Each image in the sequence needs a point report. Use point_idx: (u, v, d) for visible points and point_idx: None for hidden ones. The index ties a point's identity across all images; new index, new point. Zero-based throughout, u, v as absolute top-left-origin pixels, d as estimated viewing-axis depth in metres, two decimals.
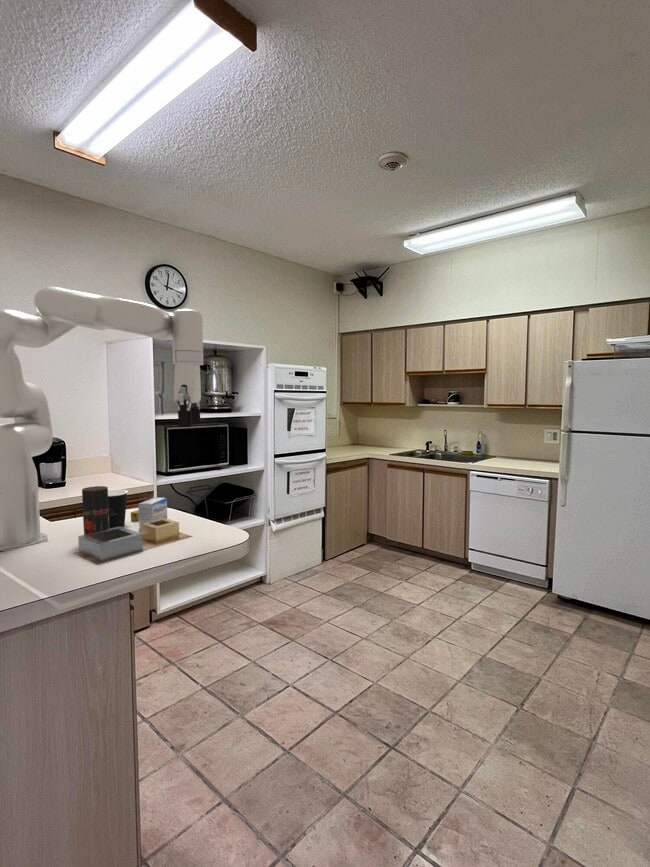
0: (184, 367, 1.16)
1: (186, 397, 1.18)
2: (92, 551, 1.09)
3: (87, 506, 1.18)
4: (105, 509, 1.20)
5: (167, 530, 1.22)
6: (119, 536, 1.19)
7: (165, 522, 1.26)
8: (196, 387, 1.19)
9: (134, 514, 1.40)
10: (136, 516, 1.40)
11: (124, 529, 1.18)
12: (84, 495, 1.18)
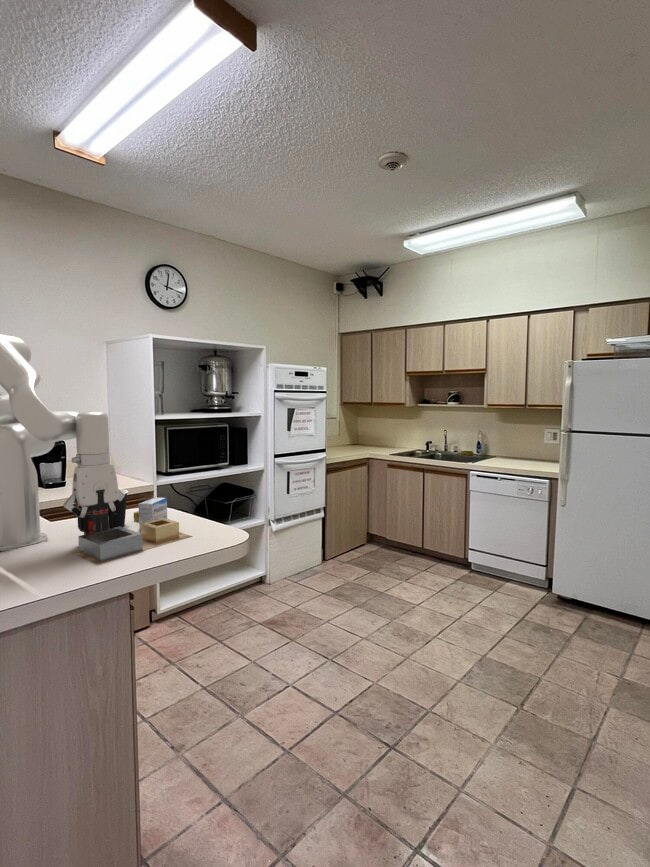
0: None
1: None
2: (92, 551, 1.09)
3: None
4: (105, 509, 1.20)
5: (167, 530, 1.22)
6: (119, 536, 1.19)
7: (165, 522, 1.26)
8: None
9: (137, 514, 1.40)
10: None
11: (124, 529, 1.18)
12: None
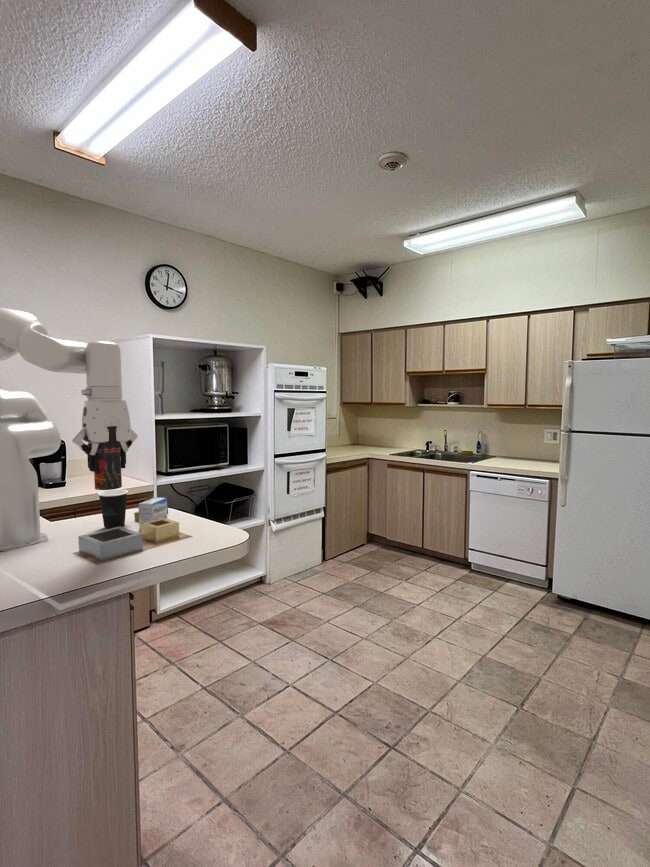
0: None
1: None
2: (92, 551, 1.09)
3: None
4: (117, 448, 1.11)
5: (167, 530, 1.22)
6: (119, 536, 1.19)
7: (165, 522, 1.26)
8: None
9: (138, 514, 1.40)
10: None
11: (124, 529, 1.18)
12: None
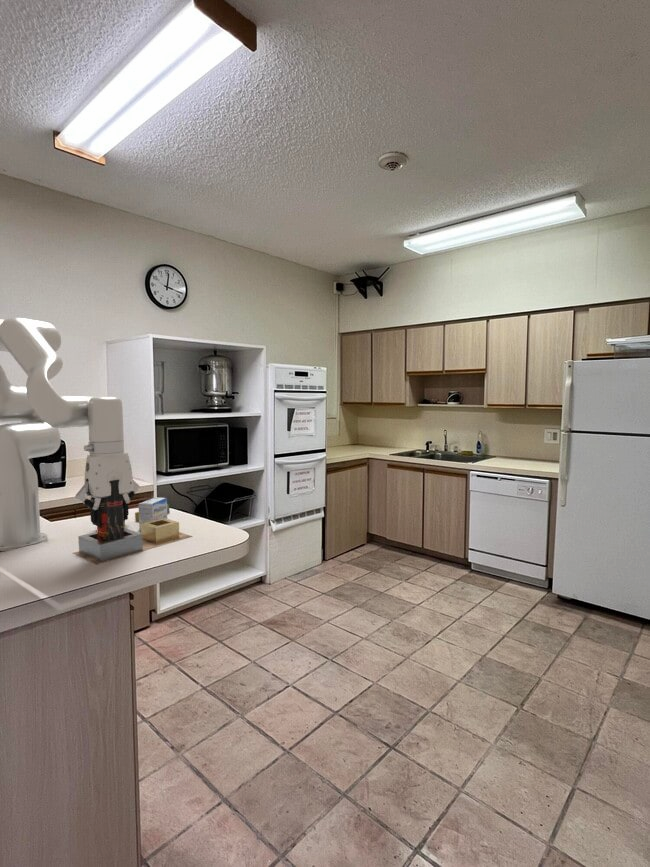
0: None
1: None
2: (92, 551, 1.09)
3: None
4: (120, 501, 1.12)
5: (167, 530, 1.22)
6: None
7: (165, 522, 1.26)
8: None
9: (138, 514, 1.40)
10: None
11: (124, 529, 1.18)
12: None
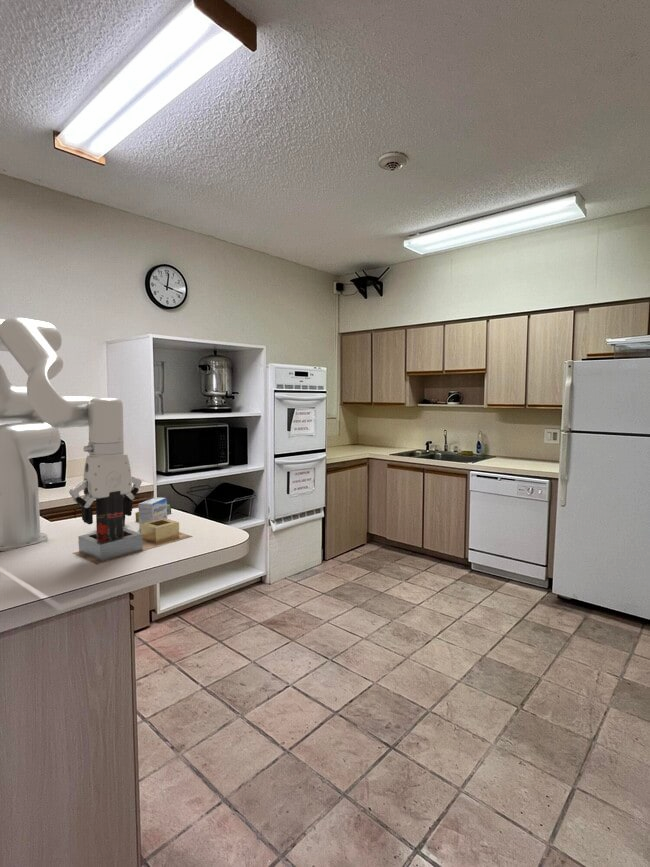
0: None
1: None
2: (92, 551, 1.09)
3: (101, 509, 1.11)
4: (120, 513, 1.13)
5: (167, 530, 1.22)
6: None
7: (165, 522, 1.26)
8: None
9: (138, 514, 1.40)
10: None
11: (124, 529, 1.18)
12: None
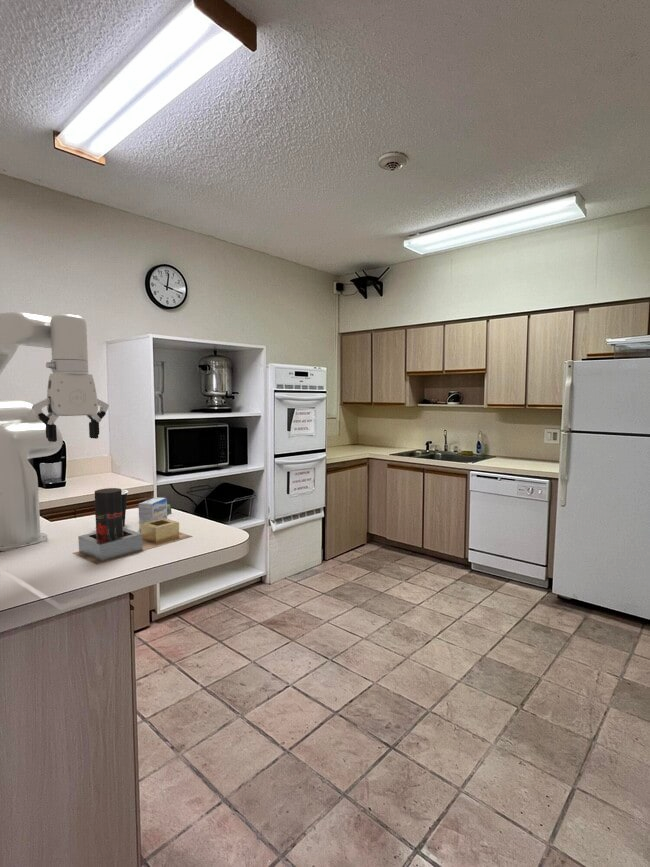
0: None
1: None
2: (92, 551, 1.09)
3: (100, 510, 1.10)
4: (119, 513, 1.13)
5: (167, 530, 1.22)
6: None
7: (165, 522, 1.26)
8: None
9: None
10: None
11: (124, 529, 1.18)
12: (97, 498, 1.10)
